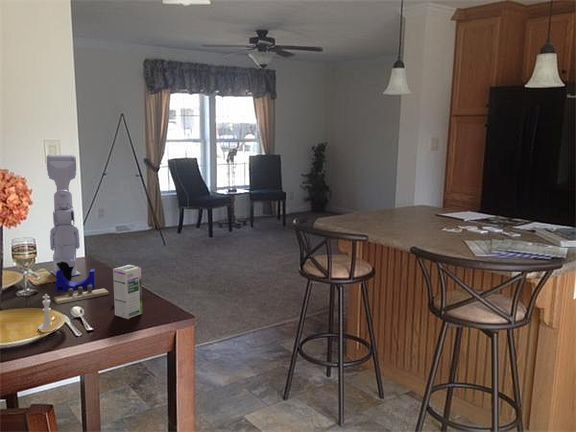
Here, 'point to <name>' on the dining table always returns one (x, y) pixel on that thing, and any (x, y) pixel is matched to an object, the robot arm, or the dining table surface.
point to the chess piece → (46, 314)
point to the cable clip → (65, 284)
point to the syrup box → (127, 291)
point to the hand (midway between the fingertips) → (66, 282)
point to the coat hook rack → (80, 294)
